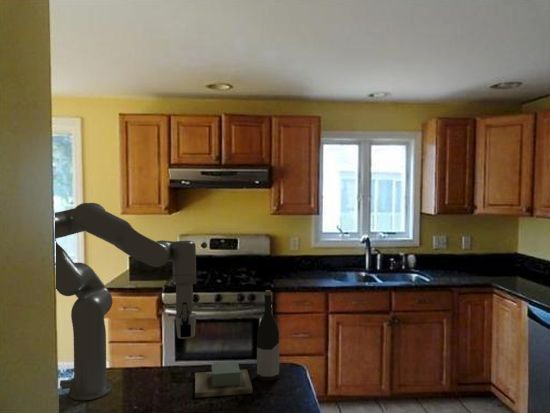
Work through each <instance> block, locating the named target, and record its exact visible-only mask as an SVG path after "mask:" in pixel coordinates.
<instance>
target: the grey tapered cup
mask: <svg viewBox="0 0 550 413" xmlns="http://www.w3.org/2000/svg"><path fill="white" fill-rule="evenodd" d="M187 314H188V313H187ZM182 315H183V313H182ZM187 318H188V317H187ZM174 320H175V327H176V336H177V338H178V339H182V340H183V339H184V340H186V339H187V340H189V339H192V338H194V337H195V335H196V324H197V323H196V322H197V313H195V312H192V314H191V315H190V324H191V336H190V337H181V331H180V325H181V314H180V315H178V316H177V315H176V314H175V315H174Z"/></svg>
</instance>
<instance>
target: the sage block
mask: <svg viewBox="0 0 550 413" xmlns="http://www.w3.org/2000/svg"><path fill="white" fill-rule="evenodd" d="M240 370H241V369H240V365H239V362H238V361H232V362H218V363H217V362H216V363H211V372H212V386H227V385H240Z"/></svg>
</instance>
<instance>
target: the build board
mask: <svg viewBox="0 0 550 413" xmlns="http://www.w3.org/2000/svg"><path fill="white" fill-rule="evenodd" d="M194 375H195V376H194V380H195V382H194V384H195V385H194V389H195V390H194V397H195V398H209V397H219V396H220V397H222V396H223V397H224V396H234V395H235V396H236V395H244V394H245V395H247V394H253V386H252V382H251V378H250V375H249V372H248V369H247V368H246V369H240V385H227V386H212V371H205V372H203V371H201V372H195V373H194Z"/></svg>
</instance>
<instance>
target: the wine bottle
mask: <svg viewBox="0 0 550 413" xmlns="http://www.w3.org/2000/svg"><path fill="white" fill-rule="evenodd" d="M263 297H264V313H263V316H262V318H261V319H260V321H259V324H258V328H257V332H256V377H257V379H259V380H260V381H262V382H267V381H268V382H273V381H276V380H278V379H279V377H280V329H279V326H278V323H277V321H276V319H275V317H274V314H273V313H272V297H273V296H272V290H270V289H269V290H265V292H264V296H263Z"/></svg>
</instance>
